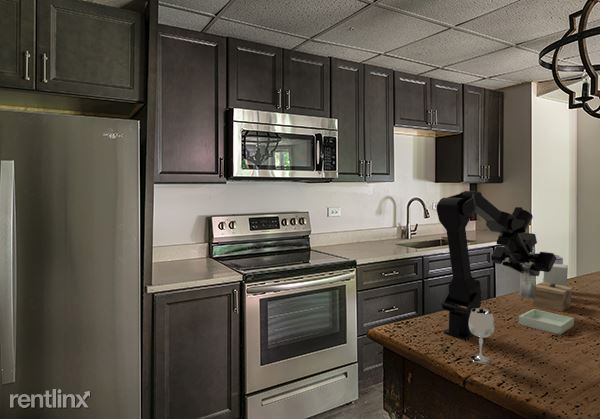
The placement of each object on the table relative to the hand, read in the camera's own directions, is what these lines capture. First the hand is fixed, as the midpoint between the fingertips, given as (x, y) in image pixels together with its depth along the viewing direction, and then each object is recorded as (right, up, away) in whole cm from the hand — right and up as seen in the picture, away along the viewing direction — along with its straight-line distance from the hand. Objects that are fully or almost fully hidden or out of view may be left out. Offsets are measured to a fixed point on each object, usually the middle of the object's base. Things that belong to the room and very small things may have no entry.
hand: (530, 273), depth 132 cm
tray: (-3, -14, -13) cm, 19 cm away
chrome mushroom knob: (-1, -8, 0) cm, 8 cm away
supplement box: (+19, -12, +16) cm, 27 cm away
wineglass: (-34, -15, -37) cm, 52 cm away
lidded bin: (+11, -12, +6) cm, 18 cm away
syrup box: (+24, -11, +25) cm, 37 cm away
